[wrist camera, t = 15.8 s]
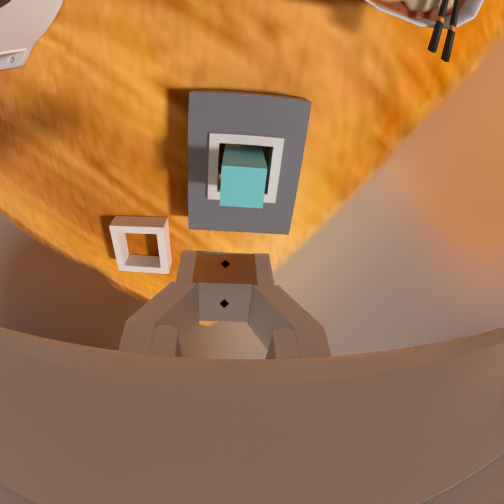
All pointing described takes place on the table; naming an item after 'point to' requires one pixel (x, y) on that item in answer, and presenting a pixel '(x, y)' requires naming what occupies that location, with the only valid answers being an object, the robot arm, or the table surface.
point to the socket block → (249, 133)
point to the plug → (243, 176)
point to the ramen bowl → (432, 16)
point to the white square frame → (142, 226)
